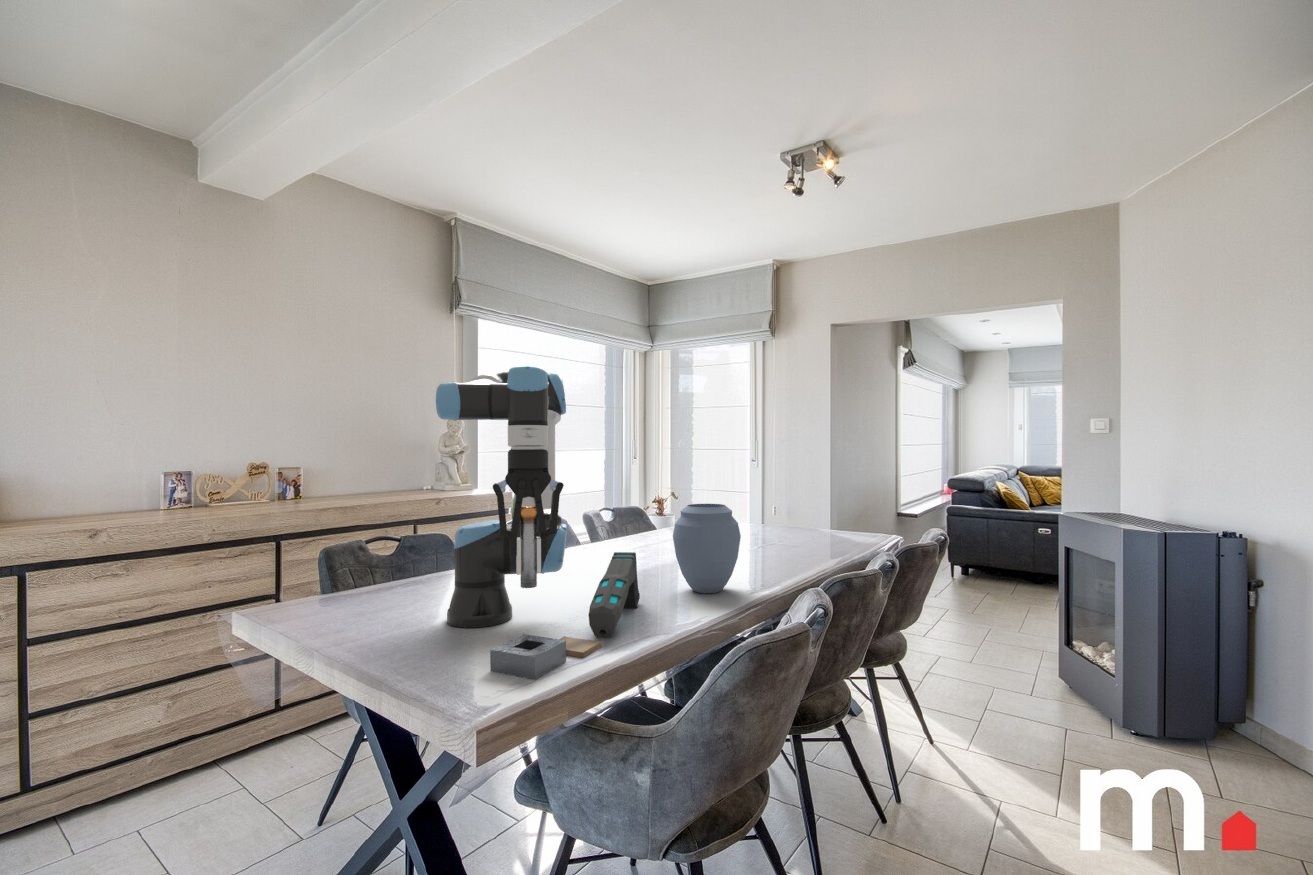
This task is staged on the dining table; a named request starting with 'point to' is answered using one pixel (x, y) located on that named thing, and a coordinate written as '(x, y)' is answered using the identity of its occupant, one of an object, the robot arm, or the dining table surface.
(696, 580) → the vase
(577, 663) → the dining table surface
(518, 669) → the block
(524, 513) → the capped test tube
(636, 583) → the gun
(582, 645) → the rest pad
